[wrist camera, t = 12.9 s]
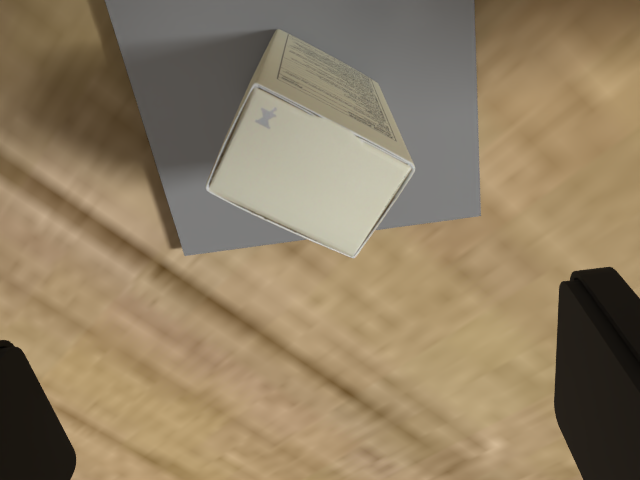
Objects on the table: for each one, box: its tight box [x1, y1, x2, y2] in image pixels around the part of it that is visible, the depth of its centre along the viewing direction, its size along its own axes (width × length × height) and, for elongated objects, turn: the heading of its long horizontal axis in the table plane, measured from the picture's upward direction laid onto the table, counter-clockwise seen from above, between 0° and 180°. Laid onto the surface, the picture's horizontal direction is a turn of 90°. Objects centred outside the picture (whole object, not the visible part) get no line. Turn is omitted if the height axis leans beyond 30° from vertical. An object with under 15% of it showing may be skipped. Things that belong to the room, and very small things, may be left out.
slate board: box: [105, 0, 481, 256], centre depth 30 cm, size 18×16×1 cm
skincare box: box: [206, 29, 415, 258], centre depth 24 cm, size 6×4×12 cm
